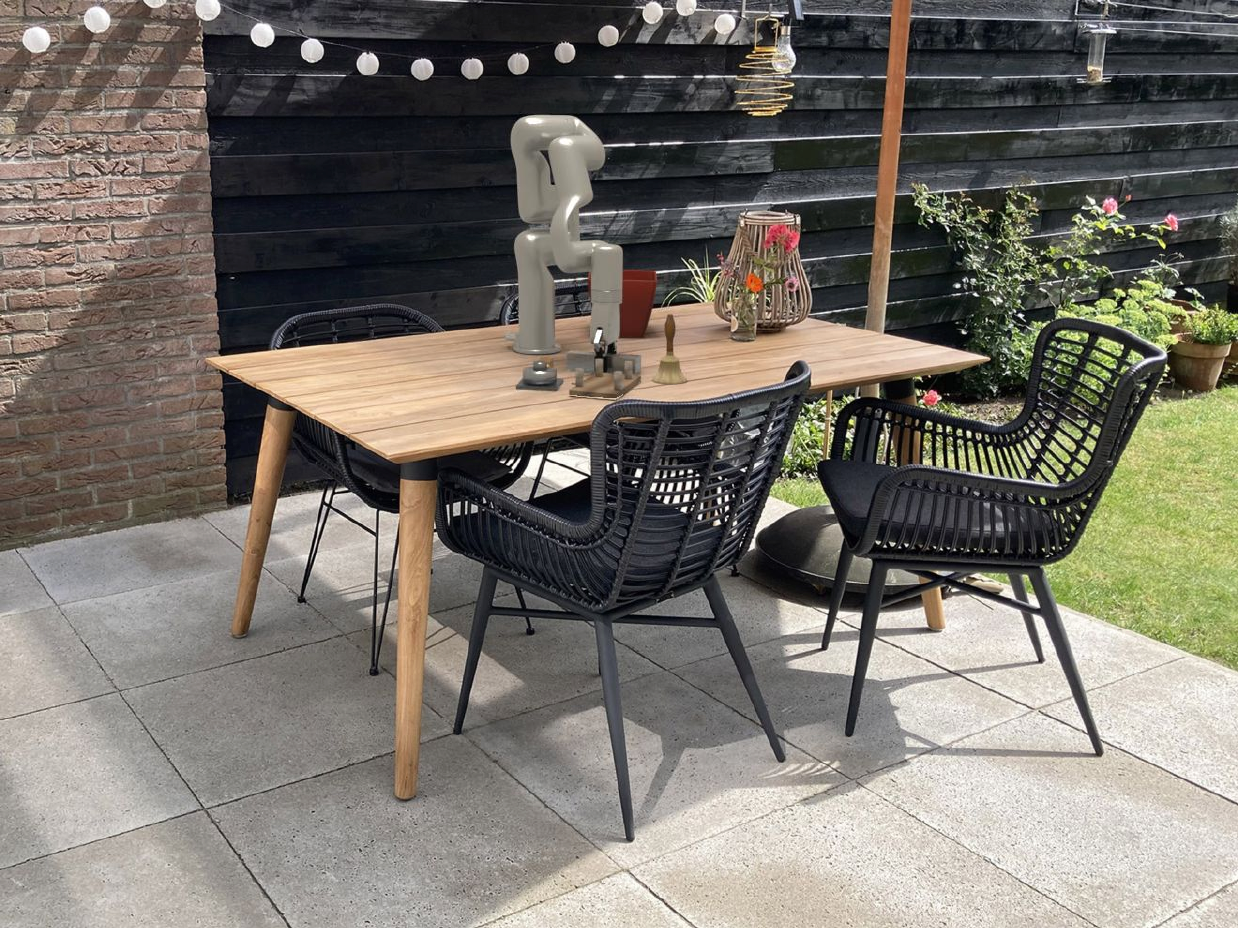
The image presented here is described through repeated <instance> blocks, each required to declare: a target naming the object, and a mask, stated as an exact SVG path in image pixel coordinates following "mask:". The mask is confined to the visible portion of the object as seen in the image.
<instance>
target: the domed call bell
mask: <svg viewBox="0 0 1238 928" xmlns="http://www.w3.org/2000/svg"><path fill="white" fill-rule="evenodd" d="M554 360H555V359H554V357H551V356H550V357H547V356H545V357H544V356H543V357H542V356H541V357H540V358H539V359H538V360H536V361H535V360H534V361H532V366H528V367H524V368H523V369H522V378H523V382H525V383H530V384H550V383H555V382H556V381H557V378H558V368H555V367H554V366H555V365H554Z"/></svg>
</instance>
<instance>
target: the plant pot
mask: <svg viewBox="0 0 1238 928" xmlns="http://www.w3.org/2000/svg"><path fill="white" fill-rule="evenodd" d="M586 280H587V289H588V290H587V291H588V294H589V295H588V297H589V303H590V307H591V310H592V305H593V303H591V272H588V277H587V279H586ZM657 284H658V278H657V271H656V270H640V269H639V270H638V269H637V270H635V269H632V270H631V269H622V303H621V304H619V316H620V330H619V338H631V339H632V338H634V339H636V338H637V339H638V338H640V339H641V338H644V337H645V335H646V332H647V329H648V326H649V322H650V319H651V314H652V312H653V307H654V302H655V297H656V292H657Z"/></svg>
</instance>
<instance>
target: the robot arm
mask: <svg viewBox="0 0 1238 928" xmlns="http://www.w3.org/2000/svg"><path fill="white" fill-rule="evenodd" d="M510 149H511V152H512V155H513V156H512V157H513V159H514V163H515V169H516V185H517V187H516V188H517V204H518V205H517V206H518V214H519V216H520V219H521V220H522V221H523V222H524V223H528V224H550V227H549V228H547V227H546V228H543V227H542V228H533V229H532V228H531V229H526V230H523V231H522V232H520V233H519V234H517V236H516V237H515V239H514V245H513V249H514V255H515V256H514V257H515V260H516V261H515V262H516V266H517V277H518V278H517V279H518V280H517V282H518V286H517V288H518V331H517V332H515V333H513V332H505V333H504V340H505V341H506V342H513V343H515V344H513V346H512V350H513V351H514V352H515V353H518V354H525V355H551V354H556V353H559V352H561V350H562V346H561V344H559V343H557V342H556V284H555V280H554V277H553V275H552V274H551V272H550V270H549V269H548V267H549V266H550V267H551V266H557V267H558V269H559V270H560V271H561V272H563V273H566V274H577V273H589V272H591V303H593V305H592V309H591V310H590V311H591V312H590V313H591V314H590V321H589V322H590V325H589V327H590V328H589V343H590V345H593V350H594V351H593V352H594V371H595V359H603V373H607V371H608V356H606V354H607V353H610V354H618V351H617V349H618V344H617V342H618V339H619V338H620V337H619V330H620V316H619V304H621V303H622V270H623V269H624V268H623V265H624V263H623V257H624V255H623V254H624V253H623V248H622V247H621V246H620V245H618V244H613V243H608V242H606V241H605V240H604V241H603V240H601V239H600V240H599V239H594V240H593V239H591V240H581V238H580V237H581V234H580V233H581V232H580V210H579V209H581V208H582V207H584V206H586V205H588V204H589V203H590V202H591V201H592V200H593V198H594V193H593V192H594V191H593V190H592V184H591V180H590V175H589V172H588V171H597V170H599V169H601V168H602V167H603V166H604V164H605V161H606V152H605V147H604V144H603V142H602V141H601V139H600V138H599V136H598V135H597V134H596V133H595V132H594V131H593V130H592V129H591V128H590V127H588V126H587V124H585V123H584V122H583V121H582V120H581V119H579V118H578V117H576V116H573V115H564V114H563V115H562V114H561V115H560V114H559V115H558V114H557V115H556V114H554V115H553V114H552V115H551V114H534V115H527V116H523V117H520V118H519V119H518V120H517V121H515V123H514V124H513V127H512V129H511V133H510ZM541 151H548V158H549V163H550V165H549V163H548V161H547V158H546V157H545V156H544V155H543V154H542V152H541ZM550 167H551V169H550ZM551 172H552V173H551ZM551 174H552V176H553V181H554V184H552V183H551ZM591 303H590V304H591ZM601 342H602V343H601Z"/></svg>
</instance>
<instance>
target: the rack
mask: <svg viewBox="0 0 1238 928" xmlns="http://www.w3.org/2000/svg"><path fill="white" fill-rule="evenodd" d="M632 363H633V362H632V361H625V374H622V372H621V371H615V372H614V373H603V359H595V373H592V375H590V376H589V377H587V378H586V379H585V378H584V373H585V372H584V369H583V368H576V372H575V383H576V384H575V385H574V386H573V387H572V388H570V389H569V391H568V396H569V395H577V396H589V397H603V398H617V397H619V396H621V395H622V394H624V393H625V394H626V393H628V392H629V391H631V390H632V389H633V388H634V386H635V387H636V386H637V385H639V384H640V383H641V381H642V377H641V375H632ZM639 382H640V383H639ZM638 383H639V384H638ZM630 389H631V390H630ZM625 394H624V395H625ZM621 397H622V396H621ZM612 401H614V400H612Z"/></svg>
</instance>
